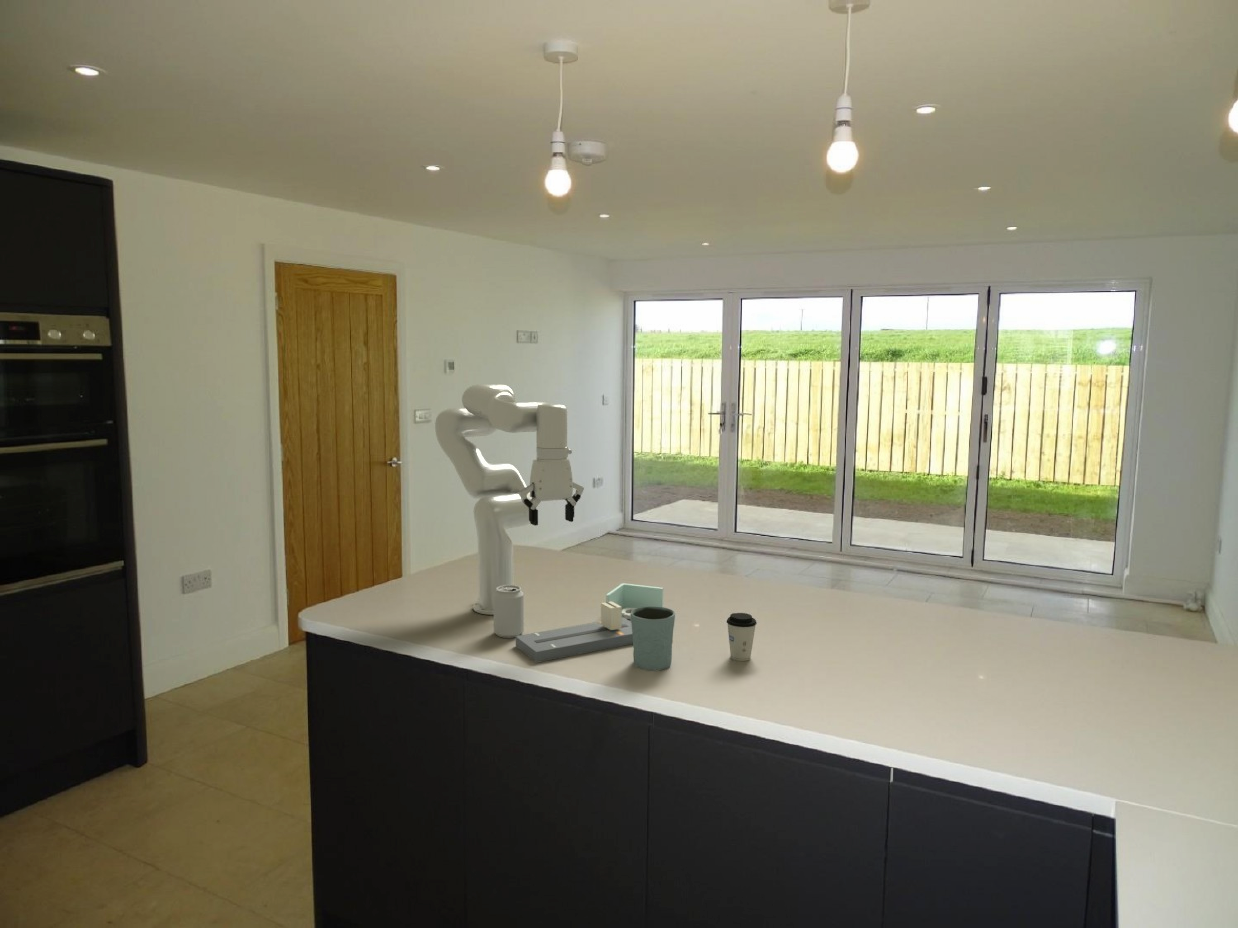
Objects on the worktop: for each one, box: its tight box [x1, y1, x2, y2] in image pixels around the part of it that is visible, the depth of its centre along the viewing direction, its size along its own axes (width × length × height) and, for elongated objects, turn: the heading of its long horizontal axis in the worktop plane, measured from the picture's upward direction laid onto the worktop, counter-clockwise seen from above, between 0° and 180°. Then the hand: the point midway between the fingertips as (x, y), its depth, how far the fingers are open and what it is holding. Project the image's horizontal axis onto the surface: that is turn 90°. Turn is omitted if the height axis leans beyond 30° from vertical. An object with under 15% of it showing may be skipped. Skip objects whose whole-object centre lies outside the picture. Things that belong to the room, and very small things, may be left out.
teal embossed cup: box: [630, 606, 676, 671], centre depth 187 cm, size 10×10×12 cm
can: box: [493, 584, 525, 639], centre depth 206 cm, size 8×8×12 cm
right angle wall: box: [605, 582, 664, 619], centre depth 221 cm, size 12×12×8 cm
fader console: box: [515, 617, 633, 663], centre depth 200 cm, size 12×30×3 cm, turn 120°
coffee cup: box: [726, 612, 758, 662], centre depth 191 cm, size 7×7×10 cm
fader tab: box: [600, 601, 622, 630], centre depth 203 cm, size 5×3×6 cm, turn 30°
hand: (551, 522), depth 204 cm, fingers open, 9 cm apart
